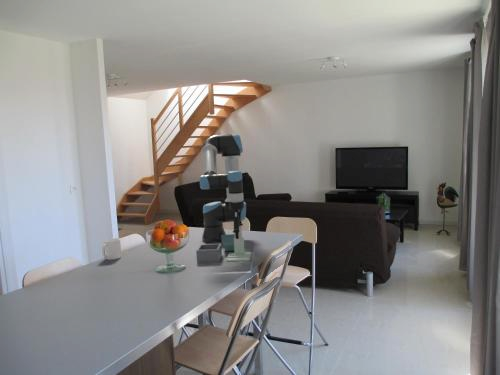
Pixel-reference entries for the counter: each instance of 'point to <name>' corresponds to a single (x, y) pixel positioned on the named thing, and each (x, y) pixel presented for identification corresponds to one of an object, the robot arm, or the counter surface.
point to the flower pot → (228, 242)
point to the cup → (112, 249)
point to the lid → (239, 253)
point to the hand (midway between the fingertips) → (238, 241)
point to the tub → (209, 253)
